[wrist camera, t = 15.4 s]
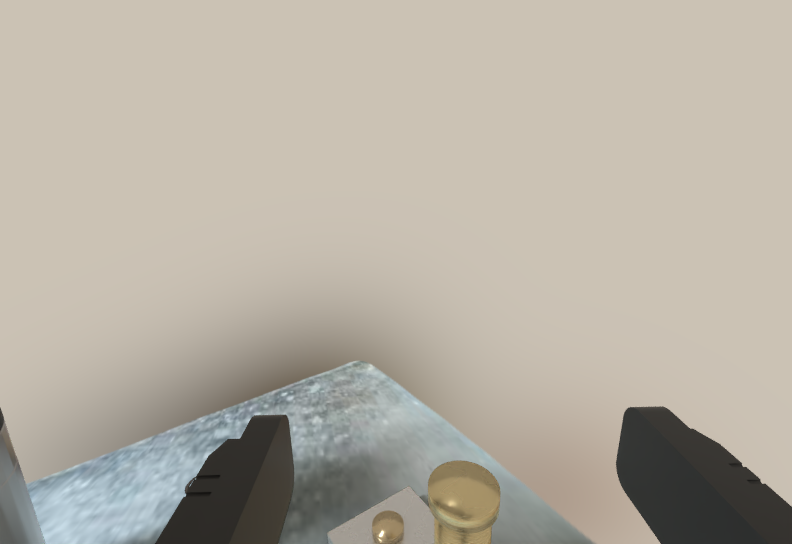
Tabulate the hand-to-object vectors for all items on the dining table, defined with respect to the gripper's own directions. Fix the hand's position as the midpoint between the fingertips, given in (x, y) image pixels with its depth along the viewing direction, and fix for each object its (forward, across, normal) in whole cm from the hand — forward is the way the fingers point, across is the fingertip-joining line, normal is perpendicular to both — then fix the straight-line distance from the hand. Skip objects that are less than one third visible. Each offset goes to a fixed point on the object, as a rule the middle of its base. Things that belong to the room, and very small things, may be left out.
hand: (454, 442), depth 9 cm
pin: (+12, -3, +27) cm, 30 cm away
